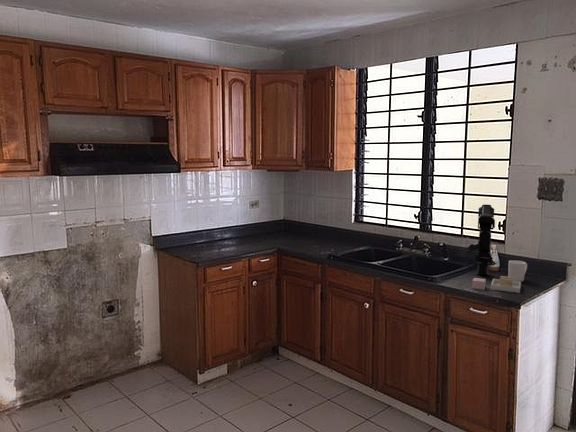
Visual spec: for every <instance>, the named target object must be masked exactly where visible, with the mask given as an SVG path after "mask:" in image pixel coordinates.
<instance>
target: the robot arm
mask: <svg viewBox="0 0 576 432" xmlns="http://www.w3.org/2000/svg"><path fill="white" fill-rule="evenodd" d="M477 212H478V213H477V215H478V218H477V219H478V221H477V229H479V232H478V234H479V235H478V240H477V242H473V243H470V244H467V246H466V247H467V250H468V252H469V253H470V252H471V253H472V252H474V251H477V253H476V254H475V265H477V271H476V276H483V277H485V276H486V277H488V276H489V274H490V272H489V266H493V257H492V253H491V241H492V231H493V230H494V229H495V227H496V219H495V218H494V217H495V208H494V207H492V205H491V204H485V203H484V204H482V205H481V206H480V207H478V211H477Z"/></svg>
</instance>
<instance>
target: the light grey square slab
mask: <svg viewBox="0 0 576 432" xmlns="http://www.w3.org/2000/svg"><path fill="white" fill-rule="evenodd" d="M499 285H500V278H492V281H491V283H490V291H491V290H492V291H498V292H500V291H501V292H506V293H507V292H508V293H514V292H515V293H516V294H520V293H521V288H522V287H521V286H522V282H518V281H513V282H512V287H507V286H499Z"/></svg>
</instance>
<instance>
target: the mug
mask: <svg viewBox="0 0 576 432" xmlns="http://www.w3.org/2000/svg"><path fill="white" fill-rule="evenodd" d="M527 270H528V263H527V262H526V261H523V260H515V259H514V260H508V270H507V272H508V275H507V277H513V281H518V282H521V283H522V282H524V281H525V275H526V272H527Z"/></svg>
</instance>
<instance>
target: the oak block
mask: <svg viewBox="0 0 576 432" xmlns="http://www.w3.org/2000/svg"><path fill="white" fill-rule="evenodd" d="M499 279H500V285H499V286H507V287H512V282H513V277H508V276H505V275H504V276H503V275H500V276H499Z"/></svg>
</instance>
